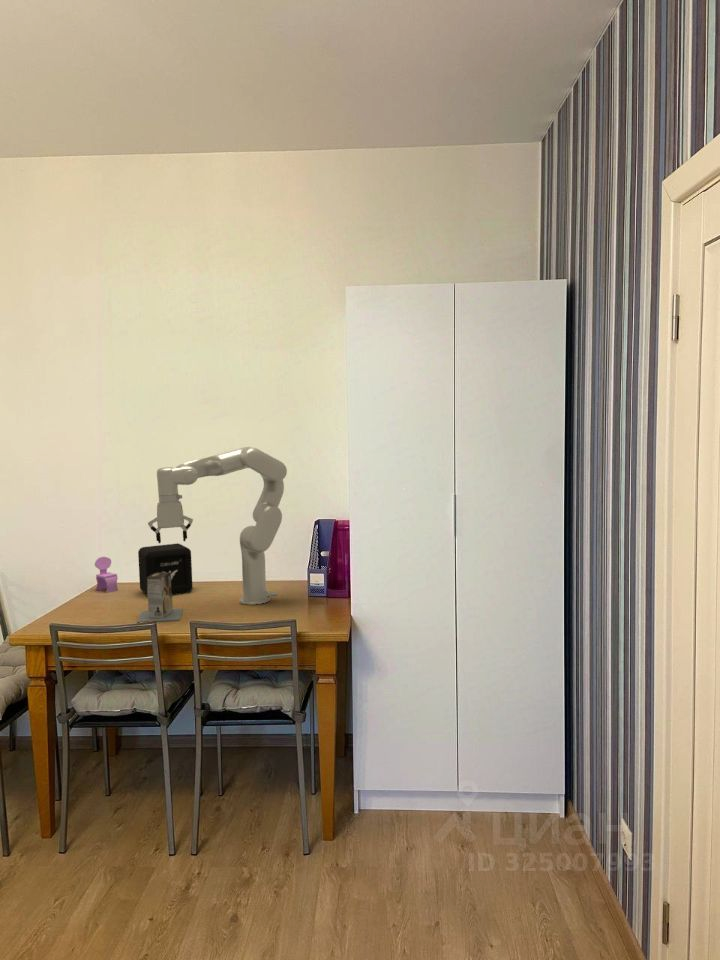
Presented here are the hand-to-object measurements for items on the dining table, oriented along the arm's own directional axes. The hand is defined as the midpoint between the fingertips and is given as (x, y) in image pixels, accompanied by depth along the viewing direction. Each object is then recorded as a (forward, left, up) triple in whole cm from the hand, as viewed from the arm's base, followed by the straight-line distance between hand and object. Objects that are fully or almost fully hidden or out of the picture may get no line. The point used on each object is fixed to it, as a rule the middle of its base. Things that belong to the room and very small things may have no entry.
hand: (172, 541), depth 313 cm
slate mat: (+5, +5, -29) cm, 29 cm away
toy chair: (+33, -45, -29) cm, 63 cm away
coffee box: (+5, +5, -28) cm, 29 cm away
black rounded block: (+6, -35, -29) cm, 46 cm away
